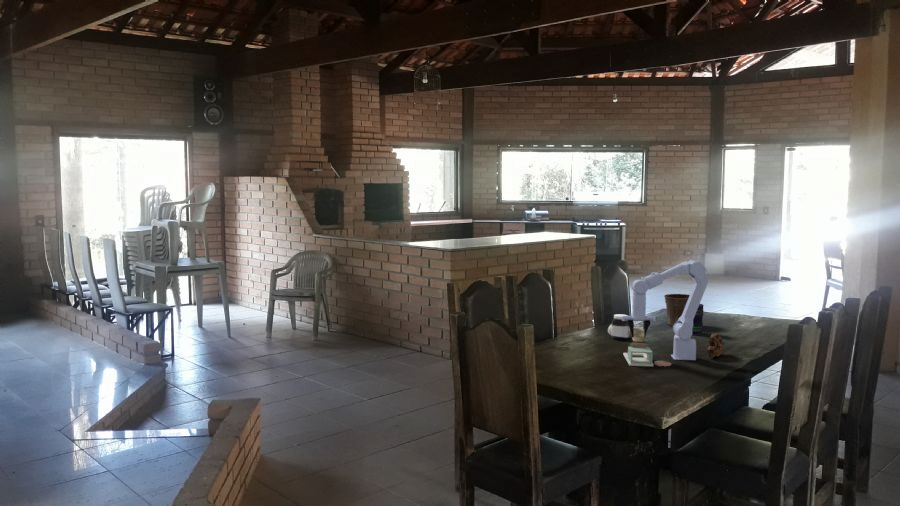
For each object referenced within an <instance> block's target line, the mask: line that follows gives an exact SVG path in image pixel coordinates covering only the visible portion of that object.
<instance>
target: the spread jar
mask: <svg viewBox="0 0 900 506" xmlns="http://www.w3.org/2000/svg"><path fill="white" fill-rule="evenodd" d="M622 316H629V315H627V314H622V313H621V314H620V313H618V314H617V313H616V314H613V319H612V321H611V324H610V325H609V326H608V328H607V334H609V335H610V336H611V337H612V338H613V339H614V340H620V341H624V340H627V339H629V337H630V335H631V331H630V328H629V325H628V323H627V321H622Z"/></svg>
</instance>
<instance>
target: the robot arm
mask: <svg viewBox="0 0 900 506" xmlns="http://www.w3.org/2000/svg"><path fill="white" fill-rule="evenodd" d="M680 274H683V275H684V274H685V275H690V276H691V279H692V281H693V282H694V284H693V286H692V288H691V291H690V293H689V295H690V296H689V298H688V301H687V303H686V306H685V309H684V311H683V314H682V316H681V317H680V318H679V319H678V321H677V323H675V324H674V326H672V331H673V333H674V335H673V345H672V346H673V350H672V352H673V353H672V354H670V356H671V358H672V359H673V360H674V361H675V360H676V361H677V360H679V361H680V360H681V361H696V360H697V341H696V339H695V338H692V336H693V335H692V328H693V319H694V316H695V314H696V311H697V309H698V306H699V304H701V301H702V299H703V296H704V293H705V291H706V289H707V287H708V284H709V283H708V281H709V280H708V275H707V268H706V267H705V265H704V263H702V262H700V261H697V260H695V259H688V260H687V261H683V262H681V263H678V264H677V265H674V266H673V267H671V268H668V269H667V270H665V271H662V272H660V273H659V272H656V271H655V272H654V271H652V272H651V273H650V274H649V275H647V276H644V277H643V276H642V277H640V279H636V280H634V281H633V282H632V284H631V289H632V312H631V313H632V314H631V315H628V316H622V321H627V323H628V325H629V328H630V336H631V338H632V337H633V336H634V331H633V330H634V326H635V323H634V322H642V324H643V325H642V327H643V329H644V339H645V338H646V336H647V332H648V330H649V327H650V325H651V322H656V321H657V317H656V316H649V315H646V310H647V307H646V306H647V305H646V304H647V295H646V294H647V291H648V290H652V289H654V288H656V287H659V286H660V285H662V284H663V283H664V281H665V280H668V279H670V278H673V277H675V276H677V275H680Z"/></svg>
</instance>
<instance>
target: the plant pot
mask: <svg viewBox="0 0 900 506" xmlns="http://www.w3.org/2000/svg"><path fill="white" fill-rule="evenodd" d="M689 296H690V294H686V293H684V294H683V293H668V294H664V295H663V297H664V302H665V307H666V321H667V325H668V326H671V327H673V326H674V324H675V323H677V321H678V319H679V318H680V317H681V316H682V314H683V311H684V304H685V303H687V301H688V298H689Z"/></svg>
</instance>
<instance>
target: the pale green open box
mask: <svg viewBox="0 0 900 506" xmlns="http://www.w3.org/2000/svg"><path fill="white" fill-rule="evenodd" d="M627 347H628V348H627V353H628V359H629V361H630V363H632V357H633V355H632V353H646V354H647V359H648V360H649V362H650V363H651V364H652V363H653V350H652V349H651V348H650V347H649V346H647V343H646V342H631V346H627Z"/></svg>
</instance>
